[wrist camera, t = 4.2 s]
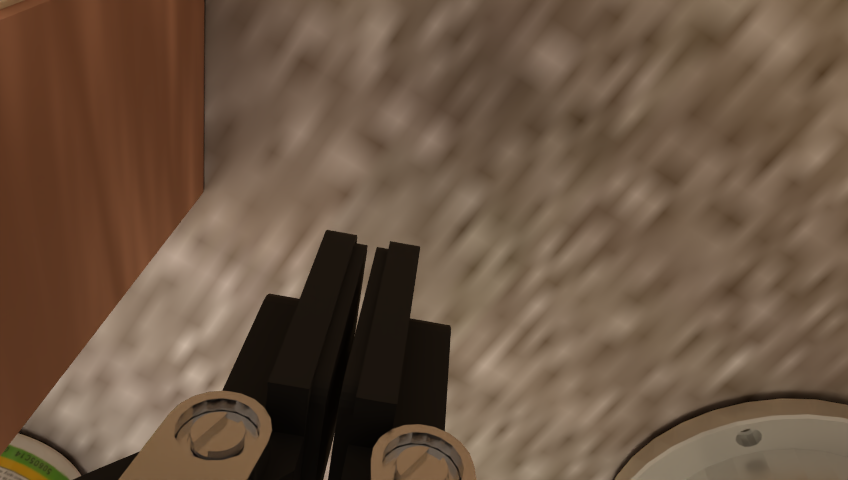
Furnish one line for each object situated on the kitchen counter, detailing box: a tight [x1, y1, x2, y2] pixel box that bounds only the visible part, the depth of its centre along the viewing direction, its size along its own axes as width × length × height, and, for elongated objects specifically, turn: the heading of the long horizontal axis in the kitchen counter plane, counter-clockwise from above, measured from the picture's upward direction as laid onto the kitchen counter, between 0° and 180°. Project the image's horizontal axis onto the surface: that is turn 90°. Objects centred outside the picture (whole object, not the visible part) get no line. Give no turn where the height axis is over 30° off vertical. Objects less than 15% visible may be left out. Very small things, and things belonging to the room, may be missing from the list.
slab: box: [0, 0, 204, 456], centre depth 15 cm, size 2×8×14 cm, turn 171°
